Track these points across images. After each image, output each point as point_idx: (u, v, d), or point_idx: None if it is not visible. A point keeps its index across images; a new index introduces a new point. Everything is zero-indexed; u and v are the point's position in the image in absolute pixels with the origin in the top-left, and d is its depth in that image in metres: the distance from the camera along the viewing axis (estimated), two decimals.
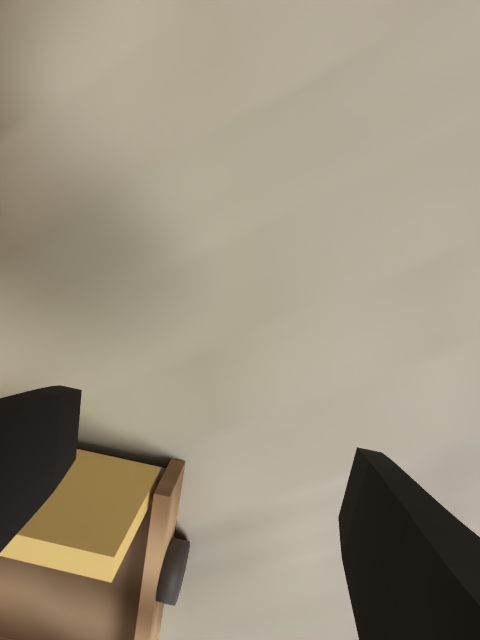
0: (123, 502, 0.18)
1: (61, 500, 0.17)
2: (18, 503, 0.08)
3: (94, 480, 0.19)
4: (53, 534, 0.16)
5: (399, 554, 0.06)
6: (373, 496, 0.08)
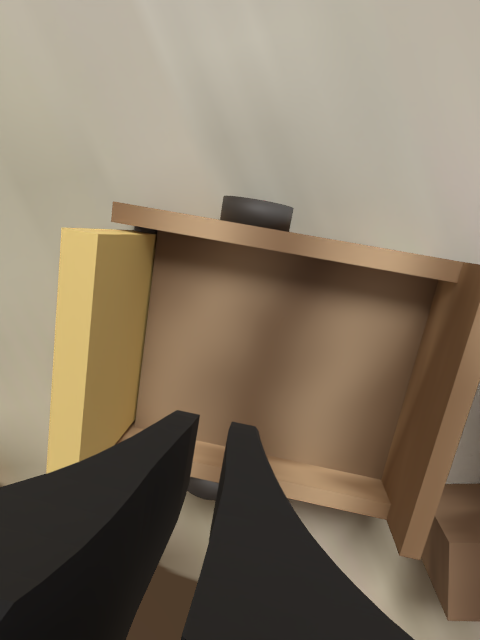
0: None
1: None
2: (161, 536, 0.08)
3: None
4: None
5: None
6: (223, 464, 0.08)
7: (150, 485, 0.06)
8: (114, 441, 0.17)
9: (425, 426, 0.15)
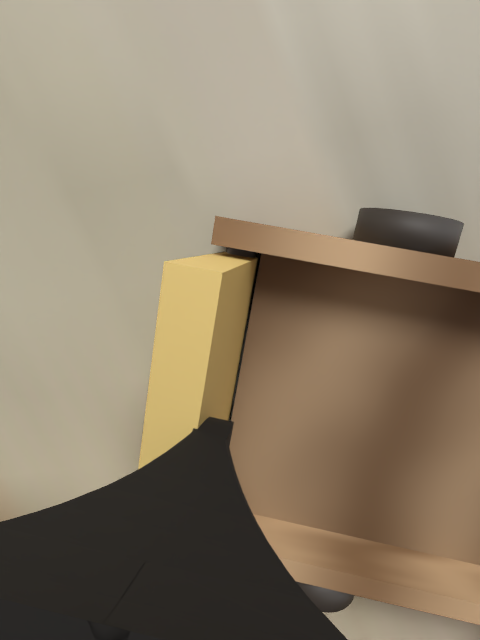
0: None
1: None
2: None
3: None
4: None
5: None
6: None
7: None
8: None
9: None
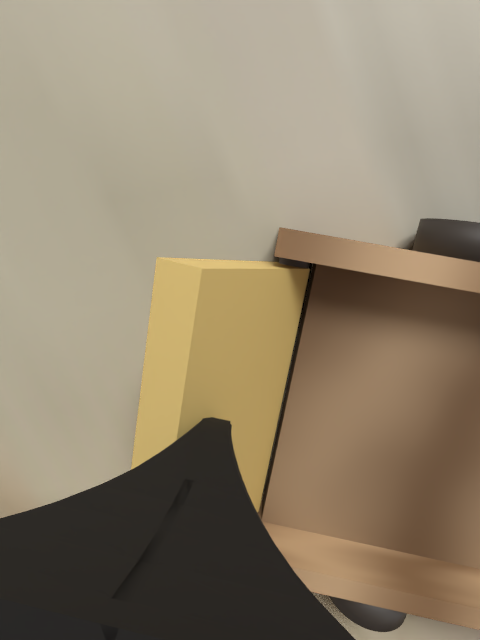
0: None
1: None
2: None
3: None
4: None
5: None
6: None
7: None
8: None
9: None
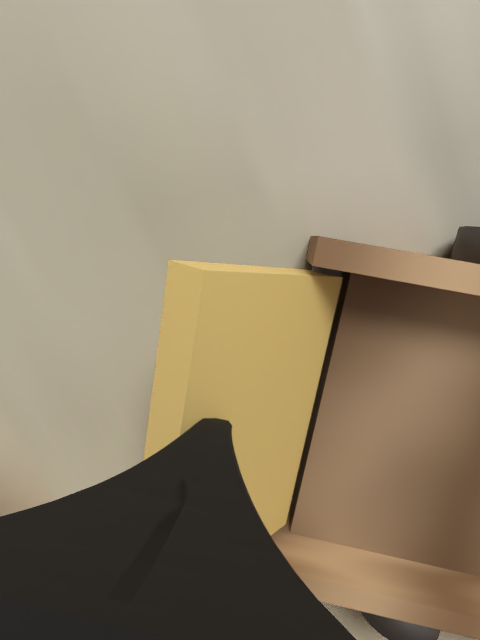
0: None
1: None
2: None
3: None
4: None
5: None
6: None
7: None
8: None
9: None
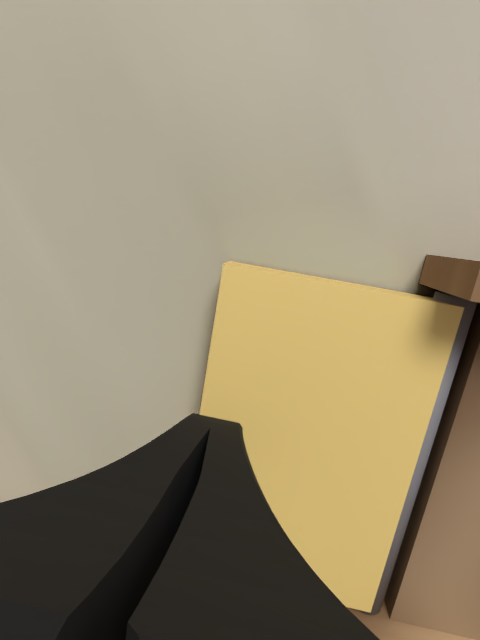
0: None
1: None
2: None
3: None
4: None
5: None
6: None
7: (173, 490, 0.06)
8: None
9: None
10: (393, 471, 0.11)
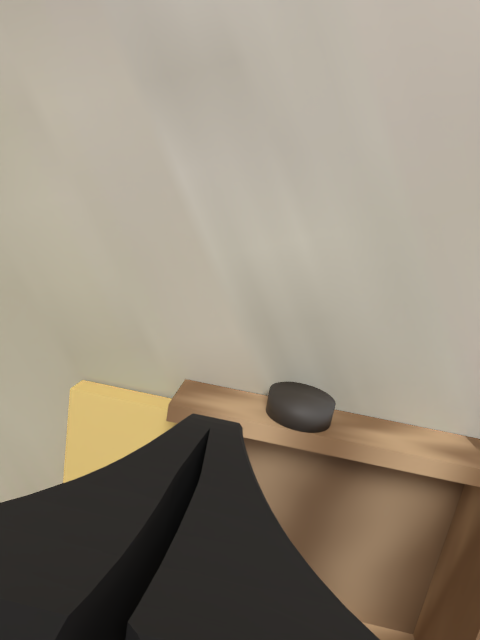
0: None
1: None
2: None
3: None
4: None
5: None
6: None
7: (174, 490, 0.06)
8: None
9: (461, 619, 0.16)
10: None
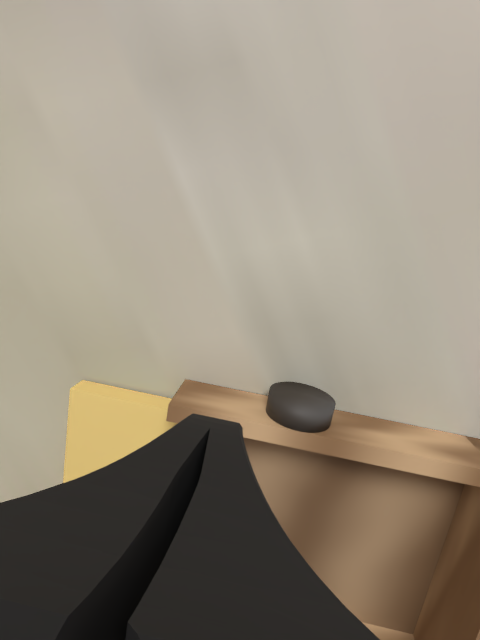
0: None
1: None
2: None
3: None
4: None
5: None
6: None
7: (174, 490, 0.06)
8: None
9: (461, 619, 0.16)
10: None
